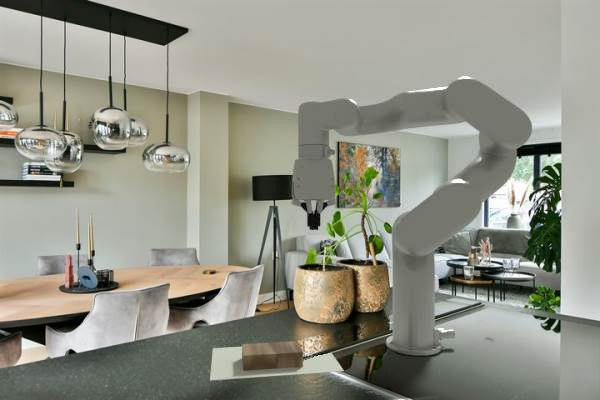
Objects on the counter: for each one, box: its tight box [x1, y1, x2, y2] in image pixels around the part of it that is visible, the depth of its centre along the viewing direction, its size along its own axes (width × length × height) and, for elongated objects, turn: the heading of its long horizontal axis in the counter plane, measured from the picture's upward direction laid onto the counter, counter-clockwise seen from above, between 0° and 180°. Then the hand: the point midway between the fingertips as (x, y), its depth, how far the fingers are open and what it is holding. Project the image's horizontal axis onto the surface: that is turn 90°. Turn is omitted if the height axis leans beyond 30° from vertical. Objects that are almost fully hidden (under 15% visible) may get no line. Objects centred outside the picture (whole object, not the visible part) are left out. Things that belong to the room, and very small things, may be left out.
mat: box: [209, 346, 345, 382], centre depth 92 cm, size 26×18×1 cm
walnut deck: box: [241, 340, 303, 371], centre depth 90 cm, size 3×7×12 cm
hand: (313, 229), depth 105 cm, fingers closed
